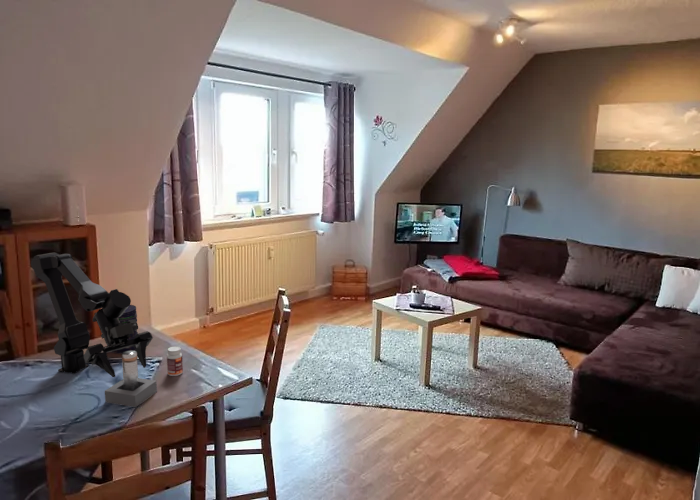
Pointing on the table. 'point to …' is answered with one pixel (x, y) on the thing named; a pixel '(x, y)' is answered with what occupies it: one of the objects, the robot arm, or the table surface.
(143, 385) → the socket block
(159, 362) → the table surface
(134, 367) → the frosted bottle
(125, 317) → the storage jar
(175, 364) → the pill bottle
